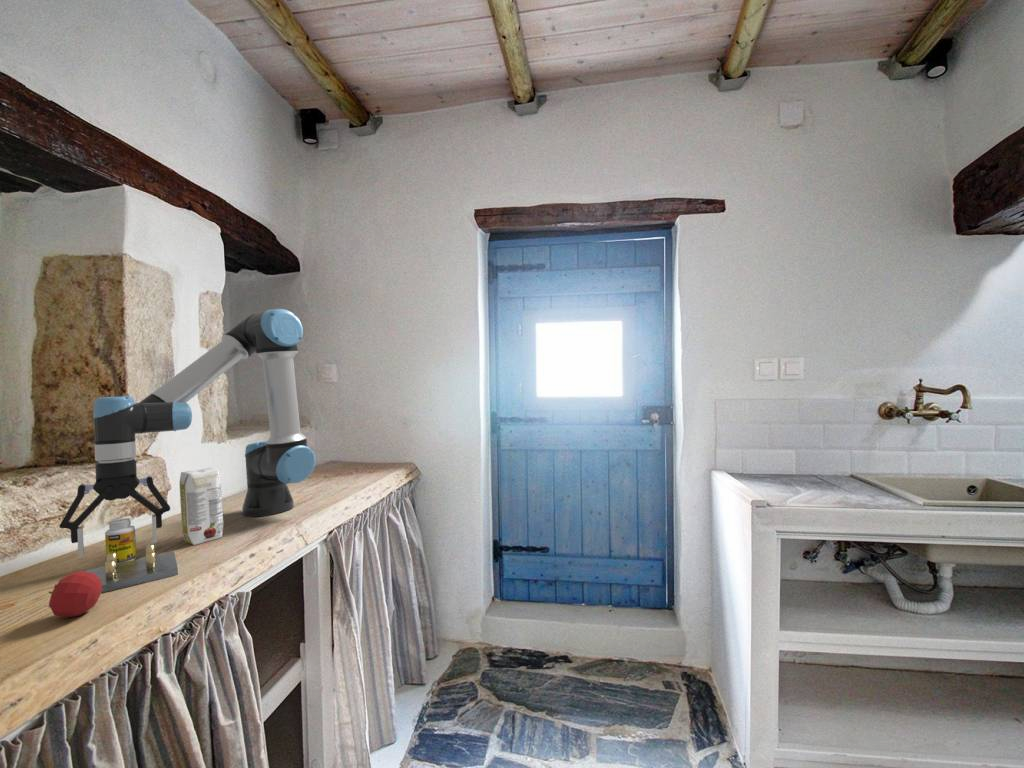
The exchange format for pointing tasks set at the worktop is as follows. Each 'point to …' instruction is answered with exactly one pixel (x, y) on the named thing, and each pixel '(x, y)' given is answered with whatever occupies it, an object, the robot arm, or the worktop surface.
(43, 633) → the worktop surface
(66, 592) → the tomato
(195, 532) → the juice carton
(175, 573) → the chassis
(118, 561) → the supplement bottle
